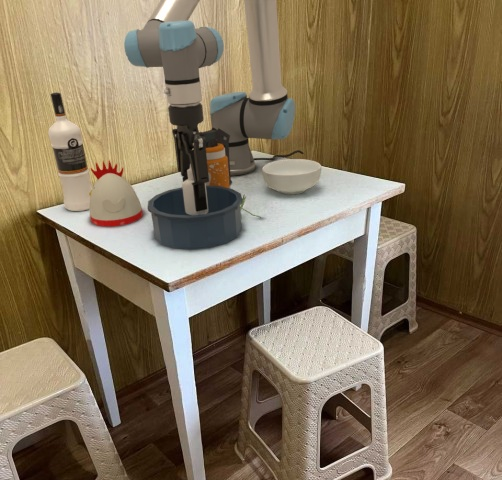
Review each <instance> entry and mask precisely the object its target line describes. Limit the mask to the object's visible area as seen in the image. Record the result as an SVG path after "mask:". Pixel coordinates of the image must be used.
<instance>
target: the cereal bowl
mask: <svg viewBox="0 0 502 480" xmlns="http://www.w3.org/2000/svg"><path fill="white" fill-rule="evenodd" d="M261 170H262V178H263V181H264V183H265V185H267V187H268V188H270V189H272V190H274V191H277V192H279V193H280V194H284V195H300V194H303V193H304V192H305V191H306V190H309V189H311V188H312V187H314V186H315V185H316V184H317V183H319V180H320V178H321V175H322V165H321V163H319V162H318V161H315V160H312V159H302V158H289V159H287V158H286V159H280V160H279V159H278V160H275V161H271V162H268V163H265V165H263V167H262V169H261Z"/></svg>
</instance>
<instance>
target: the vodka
mask: <svg viewBox="0 0 502 480" xmlns="http://www.w3.org/2000/svg"><path fill="white" fill-rule="evenodd" d="M50 98H51V103H52V107H53V112H54V114H55V122H53V124H52V125H51V126H50V127H49V128H48V131H47V135H48V139H49V141H50V147H51V148H52V152H53V156H54V160H55V163H56V167H57V171H58V173H57V175H58V177H59V181H60V184H61V189H62V196H63V200H62V201H63V205H64V208H65V209H66V210H68V211H72V212H83V211H84V212H85V211H89V205H90V195H89V193H90V191H91V190H92V188H93V184H92V179H91V173H90V169H89V166H88V161H87V157H86V152H85V147H84V140H83V137H82V130H81V129H80V127H79V126H78V125H77V124H76V123H74V122H72V121H71V120H69V119H67V115H66V110H65V106H64V102H63V97H62V93H61V92H52V93H50Z"/></svg>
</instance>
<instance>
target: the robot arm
mask: <svg viewBox="0 0 502 480" xmlns="http://www.w3.org/2000/svg"><path fill="white" fill-rule="evenodd" d="M200 1H201V0H159V2H158V4H157V5H156V7H155V8H154V10H153V11H152V13H151V15H150V17H149V18H148V19H147V21H146V23H145V24H144V26H143V28H142V29H139V28H136V29H135V30H130V31H128V32H127V33H126V35H125V38H124V44H123V45H124V48H123V49H124V53H125V55H126V57H127V60H128V62H129V63H130V64H131V65H132V66H135V67H139V68H140V67H142V68H147V69H149V68H162V70H163V77H164V87H165V89H164V90H163V92H164V94H165V95H166V102H167V104H169V106H168V107H167V111H168V119H169V123H170V124H171V125H172V126H176V128H172V130H171V133H172V137H173V141H174V149H175V151H174V152H175V158H176V159H175V160H176V167H177V172H178V173H180V176H181V177H182V183H183V182H184V181H185V180H187V179H188V174H187V170H188V169H189V168H190V164H191V169H192V173H193V178H194V183H192V185H193V190H194V199H195V208H196V211H197V212H198V211H202V210H206V209H207V201H206V191H205V183H206V182H209V175H208V165H207V156H206V139H205V137H204V138H201V137H200V134H199V132H200V130H199V127H198V125H200V124H201V123H203V122H204V119H205V117H204V110H203V109H204V108H203V104H202V103H201V102H202V100H203V97H202V96H203V95H202V86H201V85H202V84H201V78H200V69H202V68H206V67H211V66H212V65H214V64H215V63H217V62H219V60H220V59H221V58H222V56H223V55H224V54H223V53H224V48H225V46H224V45H225V44H224V40H223V37H222V36H221V33H220V32H219V31H218V30H217V29H215V28H213V27H209V26H201V27H199V28H196V26H195V24H194V22H193V21H192V20H190V18H191V17H192V14H193V13H194V11H195V9H196V7H197V6H198V4H199V3H200ZM243 2H244V3H243V4H244V13H245V22H246V31H247V32H246V33H247V43H248V52H249V53H248V54H249V63H250V71H251V72H250V73H251V83H252V89H251V90H250V92H249V93H248V94H247V92H246V91H235V92H229V93H225V94H222V95H217V96H214V97H213V98H211V100H210V102H209V115H210V124H211V125H210V126H211V129H212V128H215V129H217V130H218V128H219V129H221V130H222V131H224V132H226V133H227V134H229V135H230V138H229V160H230V175H231V177H234V176H241V175H246V174H249V173H252V172H254V171H255V169H256V162H255V161H274V160H275V158H288V157H291V156H293V155H295V154H297V153H299V154H301V155H304V154H305V153H304V152H303V151H302V150H300V149H296V150H294V151H292V152H290V153H288V154H275V155H273V156H272V157H254V155H253V153H252V150H251V147H250V143H249V139H262V140H272V141H274V140H284V139H286V138H287V137H289V135H290V133H291V131H292V129H293V125H294V120H295V115H296V103H295V100H294V99H293V98H291V97H289V98H288V90H287V88H285V86H283V85H282V68H281V53H280V52H281V51H280V37H279V20H278V6H277V5H278V4H277V0H243ZM226 139H227V138H226V137H224V140H226Z"/></svg>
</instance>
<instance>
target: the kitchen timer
mask: <svg viewBox="0 0 502 480" xmlns="http://www.w3.org/2000/svg"><path fill="white" fill-rule="evenodd" d="M107 164H108V166H107V165H106V164H105V161H104V160H102V168H100V166H99V165H98V163H97V162H95V169H96V170H95V169H93V168H92V167H90V171H91V172H92V174H93V175H94V176H95V178H96V181H95V182H94V183H93V184H92V187H93V188H92V190H91V191H90V193H89V195H90V205H89V209H88V211H89V218H90V222H91V223H92V224H93V225H96V226H98V227H120V226H124V225H129V224H132V223H135V222H137V221H139V220H140V219H141V218H143V215H144V213H143V207H142V204H141V201H140V199H139V197H138V195H137V192H136V191H135V189H134V187H133V186H132V185H131V183H130V181H129V182H128V180H127V179H126V178H124V177H123V173H124V167H122V168H121V170H120V172H118V163H115V165H114V167H113V165H112V163H111V160H110V159H108V163H107ZM107 167H108V168H107Z"/></svg>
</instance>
